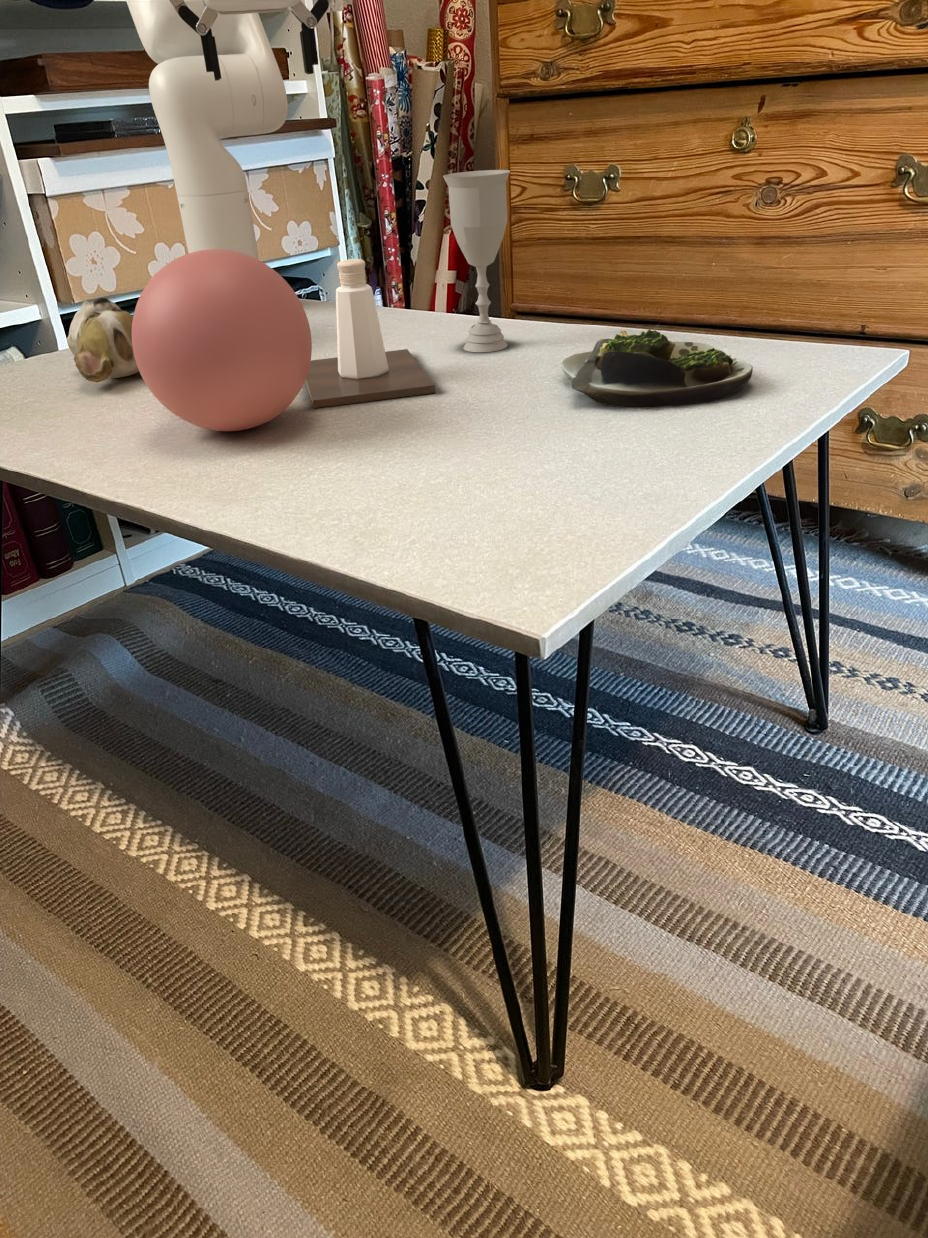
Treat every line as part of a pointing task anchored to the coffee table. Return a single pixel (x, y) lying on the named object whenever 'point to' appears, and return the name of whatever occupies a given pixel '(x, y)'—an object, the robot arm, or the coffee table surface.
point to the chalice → (480, 239)
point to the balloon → (221, 340)
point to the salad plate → (654, 371)
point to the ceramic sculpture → (102, 341)
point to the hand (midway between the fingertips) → (264, 76)
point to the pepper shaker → (358, 325)
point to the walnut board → (367, 381)
